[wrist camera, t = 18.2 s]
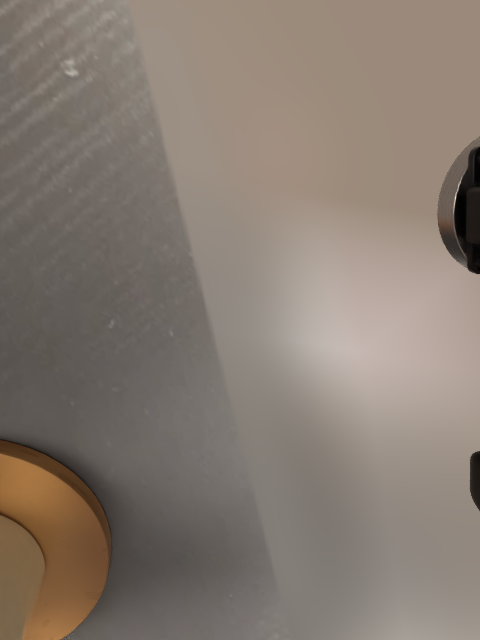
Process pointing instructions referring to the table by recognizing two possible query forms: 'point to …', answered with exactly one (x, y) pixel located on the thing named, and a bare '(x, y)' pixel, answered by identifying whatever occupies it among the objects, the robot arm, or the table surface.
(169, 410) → the table surface
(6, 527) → the lidded mug
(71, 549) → the disc
